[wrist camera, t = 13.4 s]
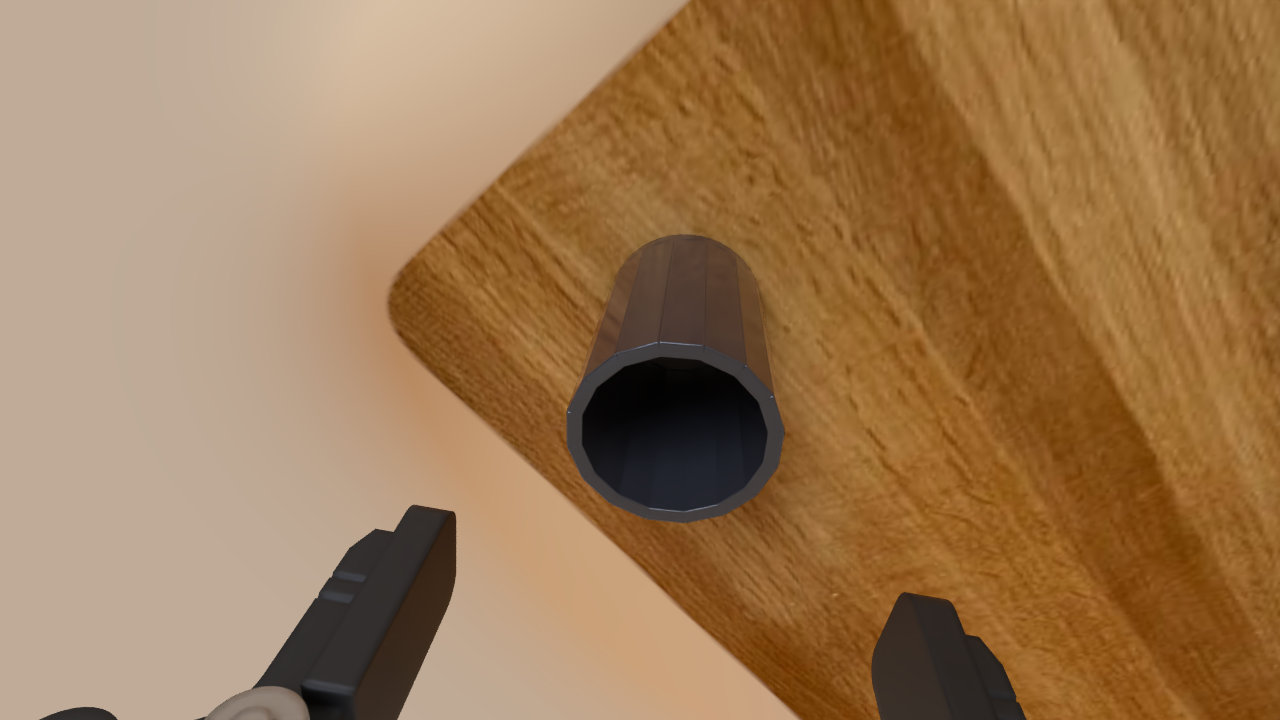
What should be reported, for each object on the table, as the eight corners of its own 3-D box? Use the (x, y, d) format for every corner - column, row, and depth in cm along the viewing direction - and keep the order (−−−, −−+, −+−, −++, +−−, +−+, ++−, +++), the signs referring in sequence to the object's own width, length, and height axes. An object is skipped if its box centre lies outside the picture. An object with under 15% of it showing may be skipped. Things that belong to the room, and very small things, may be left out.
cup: (579, 298, 23) (522, 425, 16) (693, 201, 21) (685, 299, 14) (676, 396, 25) (662, 552, 18) (790, 315, 23) (827, 454, 16)
